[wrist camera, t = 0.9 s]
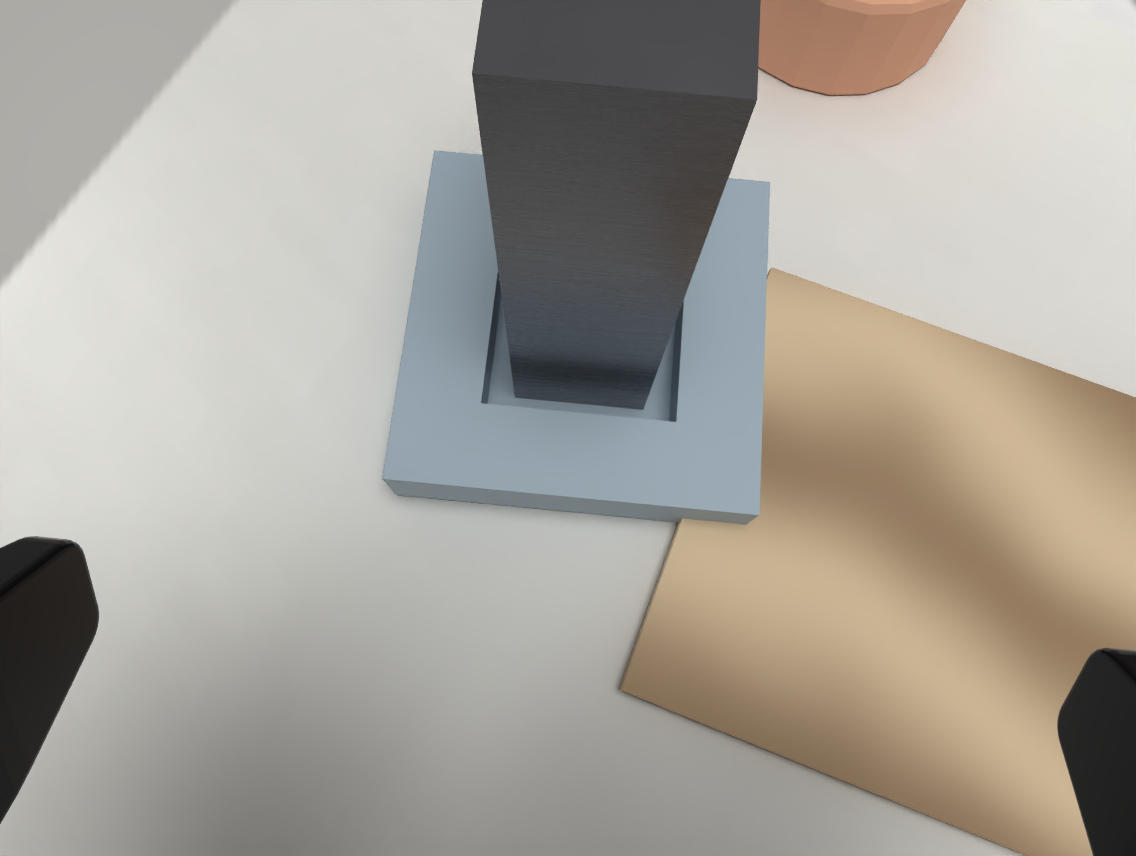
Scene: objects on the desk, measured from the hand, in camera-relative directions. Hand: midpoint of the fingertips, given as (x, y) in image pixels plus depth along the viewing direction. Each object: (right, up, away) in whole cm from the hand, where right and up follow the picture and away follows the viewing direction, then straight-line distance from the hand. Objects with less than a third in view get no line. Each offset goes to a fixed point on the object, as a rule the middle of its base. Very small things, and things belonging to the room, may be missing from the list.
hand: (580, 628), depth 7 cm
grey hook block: (+1, +5, +15) cm, 16 cm away
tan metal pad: (+9, -1, +14) cm, 17 cm away
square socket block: (0, +4, +15) cm, 16 cm away
